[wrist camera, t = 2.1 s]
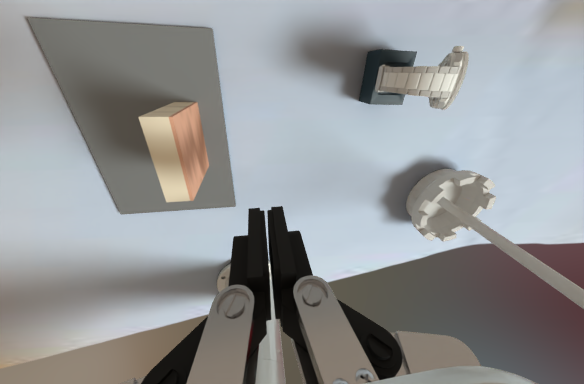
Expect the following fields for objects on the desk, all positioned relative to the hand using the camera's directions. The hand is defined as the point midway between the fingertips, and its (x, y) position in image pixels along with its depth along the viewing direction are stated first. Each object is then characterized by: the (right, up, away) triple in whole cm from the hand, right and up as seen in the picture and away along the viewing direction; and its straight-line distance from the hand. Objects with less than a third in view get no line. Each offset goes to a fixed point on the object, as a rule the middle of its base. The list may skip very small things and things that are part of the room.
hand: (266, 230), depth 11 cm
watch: (+13, +17, +16) cm, 27 cm away
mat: (-15, +9, +15) cm, 23 cm away
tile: (-11, +9, +15) cm, 21 cm away
